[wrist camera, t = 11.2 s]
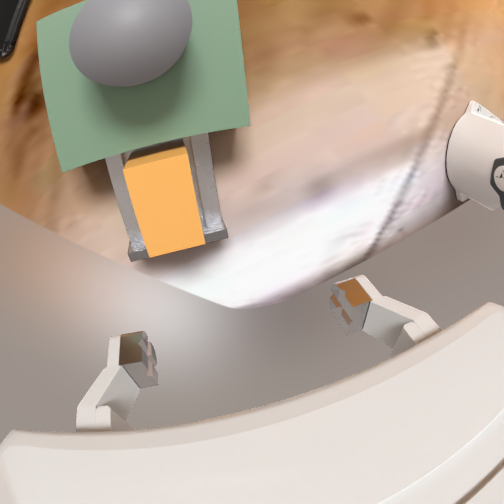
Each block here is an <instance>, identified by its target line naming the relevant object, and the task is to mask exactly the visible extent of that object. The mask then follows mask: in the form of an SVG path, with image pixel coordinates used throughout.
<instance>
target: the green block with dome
mask: <svg viewBox="0 0 504 504" xmlns="http://www.w3.org/2000/svg"><path fill="white" fill-rule="evenodd" d="M36 23H37V42H38V54H39V63H40V72H41V79H42V86H43V92H44V98H45V103H46V108H47V113H48V118H49V123H50V127H51V131H52V136H53V140H54V144H55V147H56V151H57V155H58V159H59V162H60V165H61V169H62V172H66V171H69V170H71V169H74V168H77V167H80V166H83V165H85V164H88V163H91V162H94V161H97V160H101V159H104V158H107V157H110V156H113V155H117V154H120V153H124V152H127V151H131V150H134V149H138V148H142V147H146V146H149V145H153V144H157V143H162V142H166V141H170V140H174V139H179V138H184V137H188V136H193V135H198V134H203V133H209V132H214V131H220V130H226V129H232V128H238V127H245V126H250V117H249V107H248V98H247V88H246V79H245V69H244V60H243V51H242V42H241V33H240V24H239V16H238V7H237V0H86V1H83V2H80V3H78V4H75V5H72V6H70V7H67V8H65V9H63V10H60V11H58V12H56V13H53V14H51V15H49V16H47V17H45V18H43V19H41V20H39V21H37V22H36Z"/></svg>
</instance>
